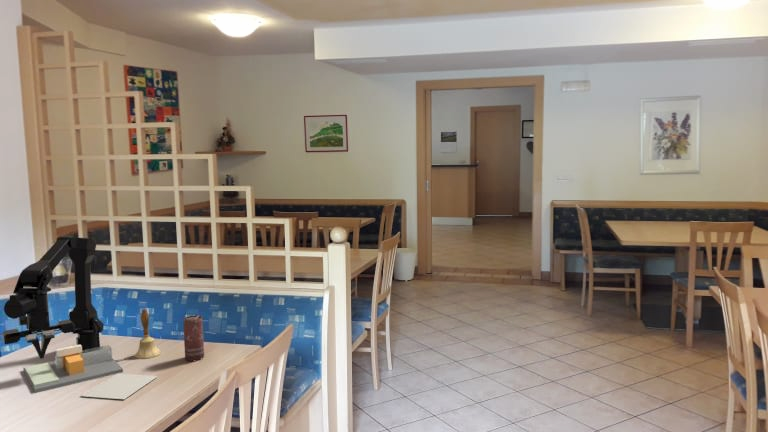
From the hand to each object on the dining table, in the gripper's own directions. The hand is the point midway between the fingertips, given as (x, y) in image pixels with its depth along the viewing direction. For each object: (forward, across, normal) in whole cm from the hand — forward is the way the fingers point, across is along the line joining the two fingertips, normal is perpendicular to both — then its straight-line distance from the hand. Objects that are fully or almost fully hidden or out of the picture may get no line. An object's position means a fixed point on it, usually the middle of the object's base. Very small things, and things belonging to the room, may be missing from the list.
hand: (41, 358), depth 178 cm
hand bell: (+6, -31, +1) cm, 32 cm away
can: (+6, -42, +15) cm, 45 cm away
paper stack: (+6, -16, +30) cm, 35 cm away
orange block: (+5, -8, 0) cm, 10 cm away
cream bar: (0, -8, 0) cm, 8 cm away
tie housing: (+5, -12, 0) cm, 13 cm away
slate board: (+6, -8, +1) cm, 10 cm away
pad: (+6, 0, 0) cm, 6 cm away
